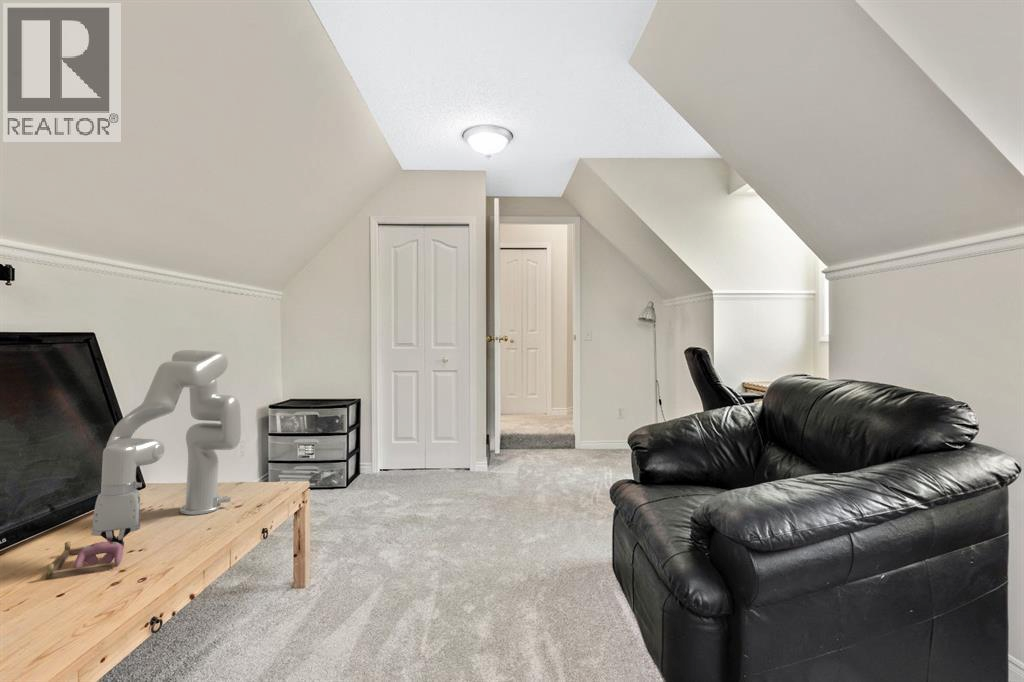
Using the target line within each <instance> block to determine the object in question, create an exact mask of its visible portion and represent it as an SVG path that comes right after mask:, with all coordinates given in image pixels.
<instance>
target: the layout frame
mask: <svg viewBox="0 0 1024 682" xmlns="http://www.w3.org/2000/svg"><path fill="white" fill-rule="evenodd" d="M71 543H72V542H71V541H67V542H65V543H64V550H63V552H61V554H60V555H59V556H58V558H57V559H56V560H55V562H54V563H49V564H47V565H46V574H45V581H46V580H53V579H59V578H67V577H73V575H74V576H80V574H81V575H85V574H86V573H87V574H93V573H100V572H105V570H107V571H111V570H110V569H112V570H113V569H114V565H115V562H113V561H112V562H110V563H100V564H98V563H97V564H95V565H91V566H90V565H86V566H82V567H78V568H74V567H73V568H71V567H70V568H66V569H61V567H62V566H64V565H63V564H64V563H65V562H66V561H65V560H68V558H69V556H73V554H76V555H78V553H79V552H80V551H81V550H82V549H83V548H84V547H86V546H87V545H86V546H80V547H71ZM123 548H125V541H123Z"/></svg>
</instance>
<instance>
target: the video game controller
mask: <svg viewBox="0 0 1024 682" xmlns="http://www.w3.org/2000/svg"><path fill="white" fill-rule="evenodd" d="M83 547H84V548H83V549H82V550H81V551H80V552H79V554H77V555H76V558H75V562H74V565H73V566H74V567H73V568H78V567H83V565H84V564H85V563H86V564H87V566H91V565H98V563H99V558H98V555H101V554H104V555H103V556H102V558H101V562H102V564H105V563H112V562H113V561H114V566H115V567H118V566H119V565H120V564H121V561H122V559H123V553H124V547H123V545H121V544H120V543H117V542H108V541H101V542H100V541H99V542H95V543H93V544H90V545H89V544H88V545H86V547H85V546H83Z"/></svg>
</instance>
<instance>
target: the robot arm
mask: <svg viewBox="0 0 1024 682" xmlns="http://www.w3.org/2000/svg"><path fill="white" fill-rule="evenodd" d="M228 361H229V360H228V357H227V355H225V354H224V353H223V352H221V351H215V350H214V351H212V350H193V349H192V350H191V349H187V350H186V349H183V350H178V351H175V352H174V353H173V355H172V356H171V361H170V360H169V361H165V362H163V363H161V364H160V365H159V366H158V368H157V370H156V372H155V375H154V376H153V379H152V381H151V384H150V385H149V388H148V390H147V392H146V395H145V397H144V399H143V401H142V403H141V404H140V405H139V406H137V407H136V408H134V409H133V410H131V411H130V412H129V413H127V414H126V415H125V416H124V417H122V418H121V419H120V420H119V421H118V422H117V423H116V425H115V426H114V428H113V430H112V432H111V434H110V435H109V438H108V441H107V442H106V447H105V448H104V449H103V451H102V467H101V483H100V484H101V485H100V487H101V489H100V493H98V495H97V497H96V501H95V505H94V511H93V517H92V518H93V519H92V529H91V536H94V537H96V536H97V537H100V536H101V538H102V537H103V538H104V539H105V540H106V542H117V543H120V544H121V545H123V542H124V538H125V537H126V536H128V534H130V533H133V532H135V531H139V530H140V529H141V523H140V521H141V497H140V491H139V489H137V488H142V486H143V485H142V484H143V482H142V481H141V482H138V481H137V477H136V476H137V467H141V466H147V465H152V464H155V463H156V462H158V461H160V460H161V459H162V458H163V456H164V454H165V445H164V444H163V442H161V440H159V439H154V438H141V437H137V438H136V437H135V438H134V437H133V435H134V434H135V432H136V431H137V430H138V429H140V428H141V427H142V426H143V425H145V424H146V423H149V422H150V421H153V420H156V419H158V418H162V417H165V416H167V415H170V414H171V413H172V412H174V411H175V408H176V407H177V403H178V401H179V399H180V397H181V394H182V392H183V389H184V388H188V389H189V409H190V410H189V411H190V415H191V417H192V419H194V420H197V421H206V422H199V423H195V424H192V425H191V426H190V427H189V428H188V429H187V430H186V433H185V442H186V443H185V444H186V447H187V472H186V488H185V489H186V492H185V504H184V505H182V506H181V507H180V508H179V512H180V513H181V514H183V515H192V516H193V515H195V516H196V515H203V514H208V513H209V514H210V513H212V512H215V511H217V510H219V509H220V508H221V507H222V503H231V496H227V495H223V496H220V495H219V493H218V477H219V457H218V455H217V453H216V451H217V450H218V451H230V450H234V449H236V448H237V447H238V445H239V444H240V441H241V437H242V434H241V432H242V430H241V429H242V427H241V426H242V422H241V416H242V415H241V403H240V401H239V400H238V398H237V397H236V396H233V395H229V394H228V395H227V394H220V393H219V392H218V381H217V378H219V377H221V376H222V375H223V374H224V373H225V372H226V370H227V368H228V366H229V362H228ZM207 421H211V422H207ZM217 422H220V423H217ZM215 450H216V451H215ZM118 530H119V531H118ZM115 531H118V535H117V537H116V535H115Z"/></svg>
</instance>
